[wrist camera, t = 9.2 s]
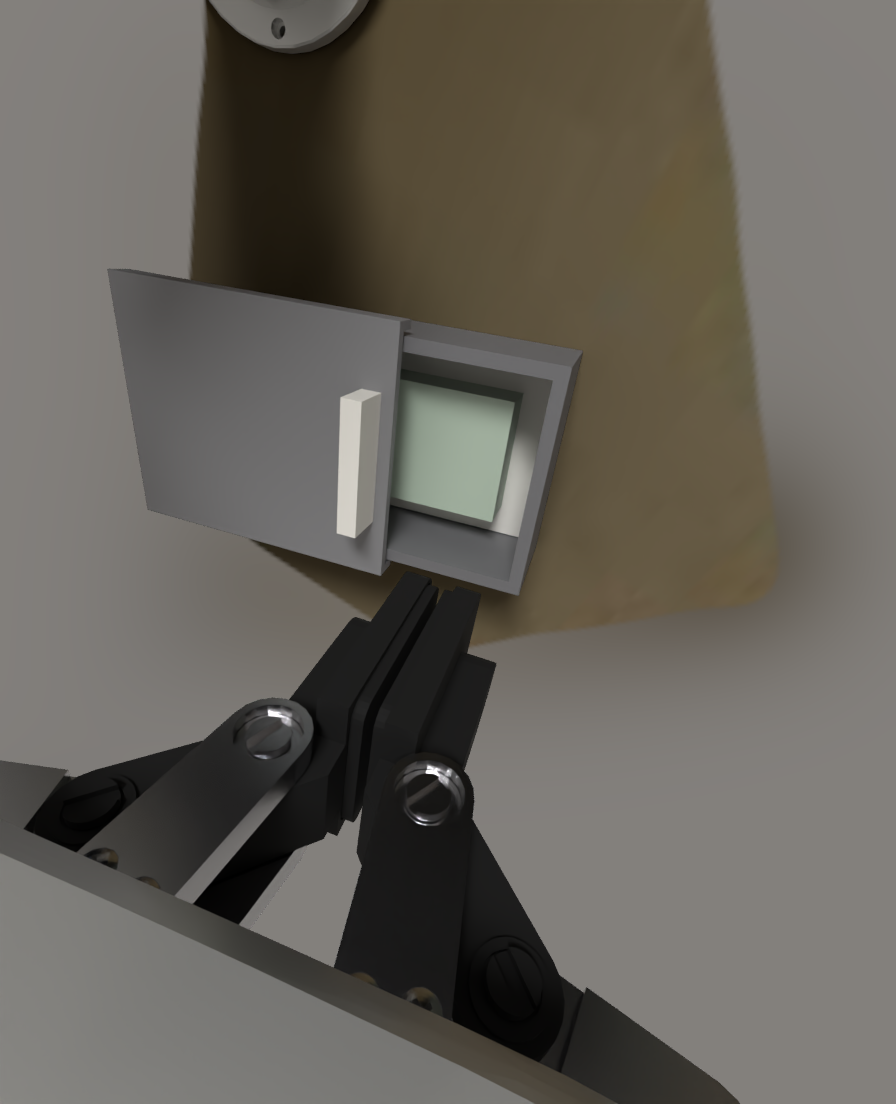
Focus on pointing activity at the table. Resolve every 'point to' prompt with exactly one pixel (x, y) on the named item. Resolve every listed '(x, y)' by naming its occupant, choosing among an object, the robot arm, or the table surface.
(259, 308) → the lid
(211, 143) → the table surface
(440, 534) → the base
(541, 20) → the table surface
